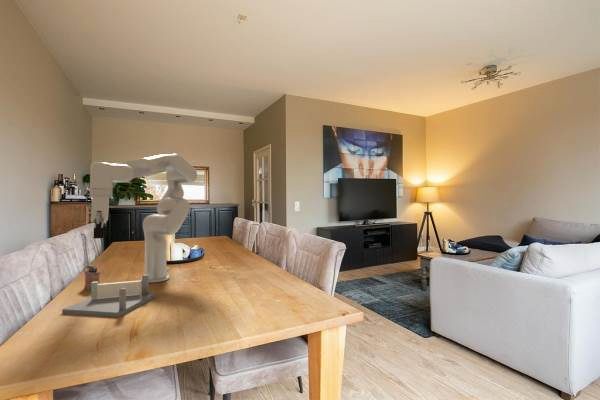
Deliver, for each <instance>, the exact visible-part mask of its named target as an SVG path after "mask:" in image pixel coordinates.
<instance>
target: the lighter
mask: <svg viewBox="0 0 600 400" xmlns="http://www.w3.org/2000/svg"><path fill="white" fill-rule="evenodd" d="M86 269H87V270H85V271H84V289H85V290H88V291H91V283H92V282H95V281H98V284H100V274H101V272H100V271H99V270H98V266H96V265H91V264H89V265H86Z"/></svg>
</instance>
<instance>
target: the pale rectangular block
mask: <svg viewBox="0 0 600 400" xmlns="http://www.w3.org/2000/svg"><path fill="white" fill-rule="evenodd" d="M121 288H126V295H136V294H141V292H142V281H141V279H140V280H129V281H118V282H117V281H116V282H105V283H104V282H103V283H99V284H98V281H95V282H92V283H91V290H90V293H91V297H90V298H91V299H97V298H107V297H116V296H119V289H121Z"/></svg>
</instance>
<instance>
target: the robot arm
mask: <svg viewBox="0 0 600 400" xmlns="http://www.w3.org/2000/svg"><path fill="white" fill-rule="evenodd" d="M89 169H90V170H89V171H90V172H89V173H90V175H89V179H90V180H89V198H92V199H91V210H90V211H91V212H90V222H91V223H92V224H93V223H94V225H93V239H104V238H105V237H106V236H107V235H108V234H107V233H108V229H107V227H108V226H107V222H108V220H109V211H110V210H109V209H110V207H109V205H110V198H113V191H114V190H113V187H114V186H113V185H114V184H113V183H128V182H130V181H132V180H133V179H134V178H145V177H150V176H154V175H158V174H161V173H165V172H166V173H165V179H166V181H167V190H166V191H165V193H164V195H163V196H162V198H161V199H160V200H159V202H158V204H157V206H156V212H157V214H156V213H155V214H149V215H147V216H146V217H145V218H144V219H143V221H142V230H143V234H144V275H149V283H160V282H165V281H167V280H169V279H170V275H169V274H168V272H170V270H171V268H170V267H167V245H168V244H167V239H166V237H165V235H166V236H168V235H169V236H171V235H175V234H176V233H178V231H179V230H180V228H181V227H182V225H183V223H184V221H185V220H186V218H187V217H188V215H189V211H190V203H189V201H188V200H187V199H186V198H184V195H185V192H184V189H183V186H182V184H190V183H191V184H192V183H194V182H196V180H197V178H198V171H197V169H196V168H195V167H194V166H193V165H192V164H191V163H190V162H189V161H187V160H186V159H185V158H184V157H182V156H181V155H179V154H177V153H173V154H171V153H170V154H158V155H153V156H148V157H142V158H136V159H131V160H126V161H120V162H114V163H110V162H105V161H104V162H100V161H95V162H92V163H91V164H90V168H89ZM104 236H105V237H104ZM140 280H141V282H142V277H141V278H140Z"/></svg>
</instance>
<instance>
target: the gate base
mask: <svg viewBox="0 0 600 400" xmlns="http://www.w3.org/2000/svg"><path fill="white" fill-rule="evenodd" d="M141 278H142V281H141V294H136V295H126V288H121V289H119V296H116V297H107V298H97V299H91V297H90V298H87V299H84V300H82V301H79V302H77V303H74V304H72V305H69V306H67V307H64V308H62V309H61V314H62V315H78V316H91V317H92V316H95V317H106V318H107V317H108V318H109V317H111V318H120V317H122V316H124V315H125V314H128V313H129V312H131V311H133V310H135V309H137V308H139V307H140V306H142V305H144V304H146V303H147V302H150V301H152V300H153V299H156V298H157V292H149V275H145V274H142V275H141Z"/></svg>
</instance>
